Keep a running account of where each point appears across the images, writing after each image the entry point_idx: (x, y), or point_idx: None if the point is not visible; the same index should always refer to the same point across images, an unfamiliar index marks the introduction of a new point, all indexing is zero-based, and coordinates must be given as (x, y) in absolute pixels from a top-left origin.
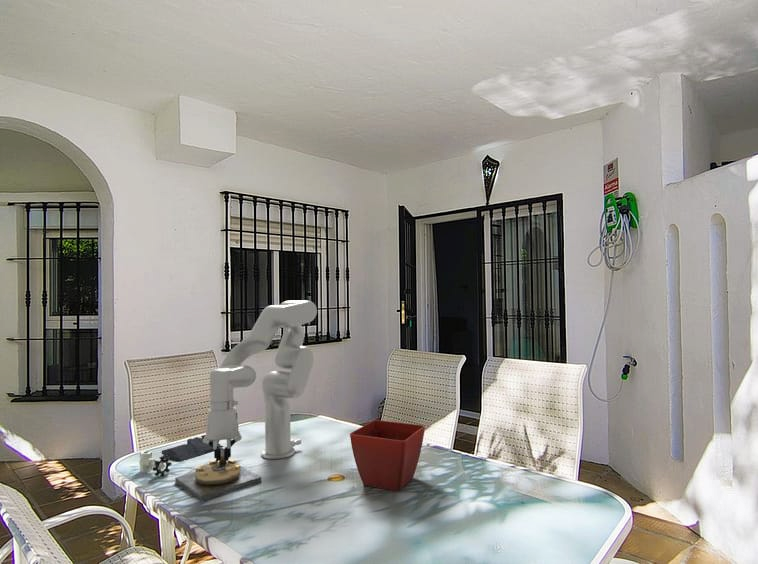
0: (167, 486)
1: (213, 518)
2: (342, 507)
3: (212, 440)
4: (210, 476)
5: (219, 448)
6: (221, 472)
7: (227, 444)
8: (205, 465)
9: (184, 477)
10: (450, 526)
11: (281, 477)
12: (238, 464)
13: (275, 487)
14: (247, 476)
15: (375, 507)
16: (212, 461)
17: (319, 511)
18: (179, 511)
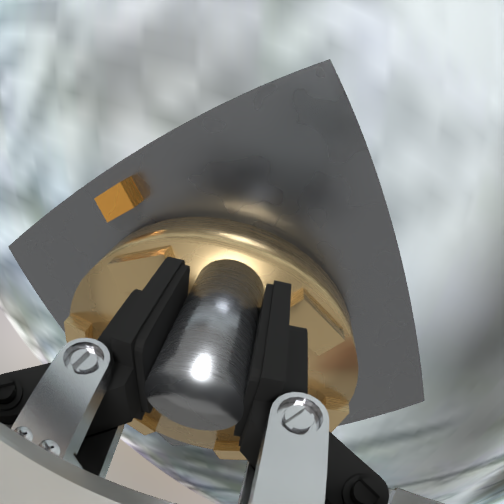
0: (14, 260)
1: (224, 485)
2: (463, 486)
3: (8, 415)
4: (176, 438)
5: (153, 402)
6: (226, 453)
7: (249, 492)
8: (99, 289)
9: (39, 262)
10: (497, 498)
11: (499, 357)
12: (350, 367)
13: (432, 424)
14: (373, 384)
15: (493, 482)
16: (133, 279)
17: (426, 495)
18: (133, 441)
